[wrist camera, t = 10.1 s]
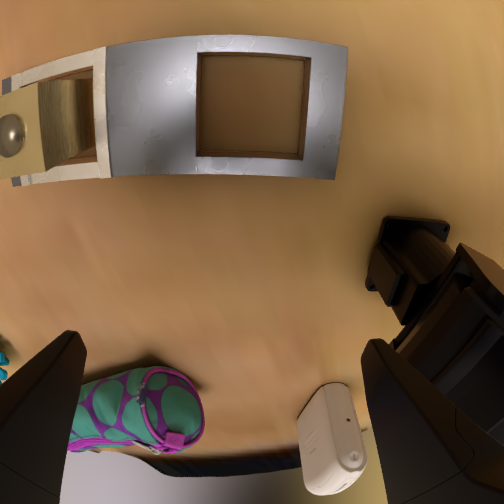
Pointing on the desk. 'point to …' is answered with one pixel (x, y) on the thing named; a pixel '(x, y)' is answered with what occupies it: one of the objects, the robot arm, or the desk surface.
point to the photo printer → (330, 441)
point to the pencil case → (138, 412)
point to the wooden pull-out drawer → (45, 125)
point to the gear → (3, 373)
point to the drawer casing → (190, 108)
